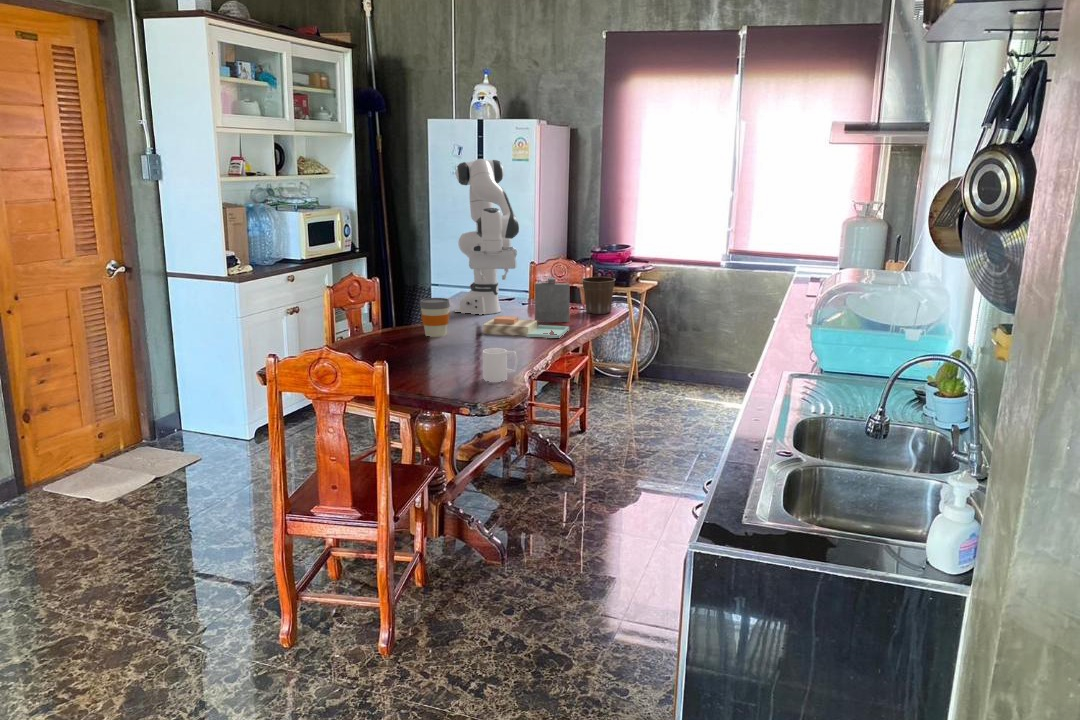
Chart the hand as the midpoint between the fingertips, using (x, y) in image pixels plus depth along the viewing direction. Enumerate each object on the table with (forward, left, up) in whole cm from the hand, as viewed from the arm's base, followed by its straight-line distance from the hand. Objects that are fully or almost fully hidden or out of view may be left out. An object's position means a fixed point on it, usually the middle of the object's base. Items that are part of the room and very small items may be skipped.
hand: (493, 279), depth 349 cm
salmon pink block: (+5, +1, -19) cm, 19 cm away
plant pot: (+35, +53, -23) cm, 68 cm away
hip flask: (+19, +26, -23) cm, 40 cm away
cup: (+26, -72, -23) cm, 80 cm away
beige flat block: (+7, +1, -23) cm, 24 cm away
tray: (+24, +1, -23) cm, 33 cm away
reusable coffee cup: (-22, -13, -23) cm, 34 cm away
